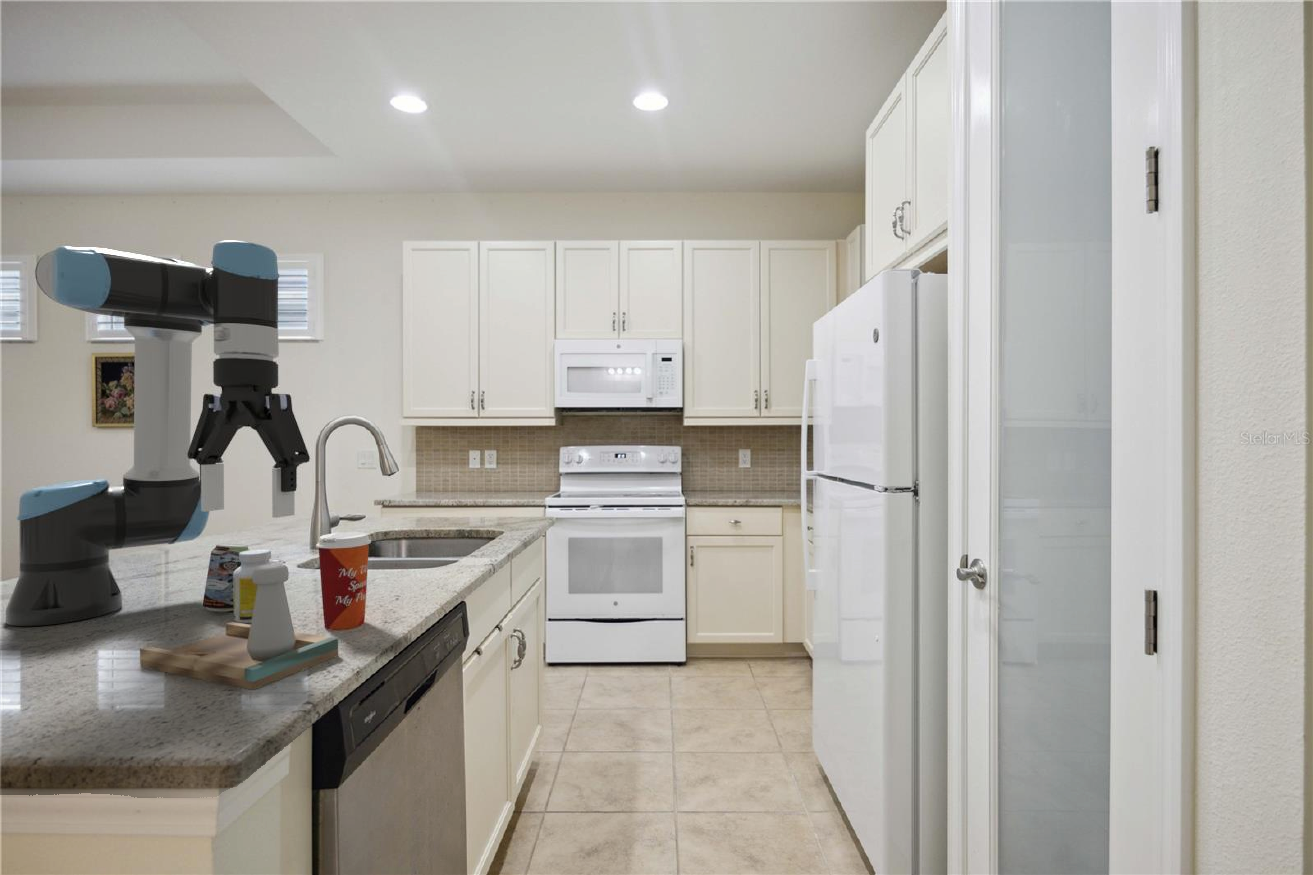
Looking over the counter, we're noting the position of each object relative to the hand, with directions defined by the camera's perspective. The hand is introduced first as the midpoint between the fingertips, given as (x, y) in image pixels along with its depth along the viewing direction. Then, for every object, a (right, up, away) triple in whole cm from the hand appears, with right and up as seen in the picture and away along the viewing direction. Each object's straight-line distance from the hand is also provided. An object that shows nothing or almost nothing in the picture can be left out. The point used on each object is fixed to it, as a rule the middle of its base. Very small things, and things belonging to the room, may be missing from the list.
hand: (247, 513), depth 89 cm
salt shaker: (+3, -20, 0) cm, 21 cm away
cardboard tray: (-2, -21, +2) cm, 21 cm away
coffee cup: (+4, -21, +19) cm, 29 cm away
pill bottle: (-13, -21, +22) cm, 33 cm away
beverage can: (-21, -21, +28) cm, 41 cm away
